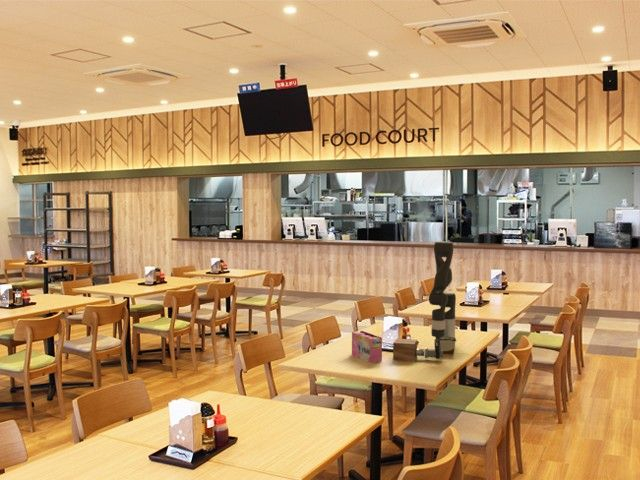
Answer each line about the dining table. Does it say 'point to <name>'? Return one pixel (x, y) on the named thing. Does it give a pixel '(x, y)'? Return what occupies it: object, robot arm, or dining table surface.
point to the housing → (404, 349)
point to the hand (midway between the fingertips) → (438, 357)
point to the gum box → (367, 346)
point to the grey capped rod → (428, 352)
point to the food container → (448, 345)
